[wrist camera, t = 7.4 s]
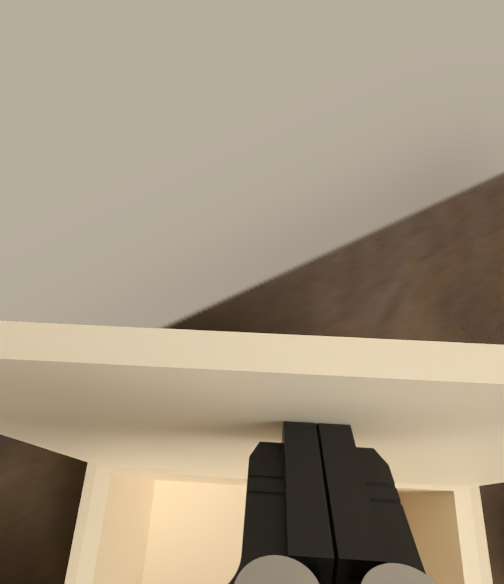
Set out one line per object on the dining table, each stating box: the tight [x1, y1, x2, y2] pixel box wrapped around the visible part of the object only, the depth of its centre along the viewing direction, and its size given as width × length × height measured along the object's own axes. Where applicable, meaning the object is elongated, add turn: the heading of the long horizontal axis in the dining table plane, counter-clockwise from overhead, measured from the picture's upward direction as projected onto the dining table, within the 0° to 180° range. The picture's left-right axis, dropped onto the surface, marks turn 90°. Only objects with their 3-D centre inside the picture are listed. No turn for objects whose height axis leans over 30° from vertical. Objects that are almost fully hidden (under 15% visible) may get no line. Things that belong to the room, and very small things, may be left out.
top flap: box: [0, 321, 504, 487], centre depth 15 cm, size 19×18×1 cm
